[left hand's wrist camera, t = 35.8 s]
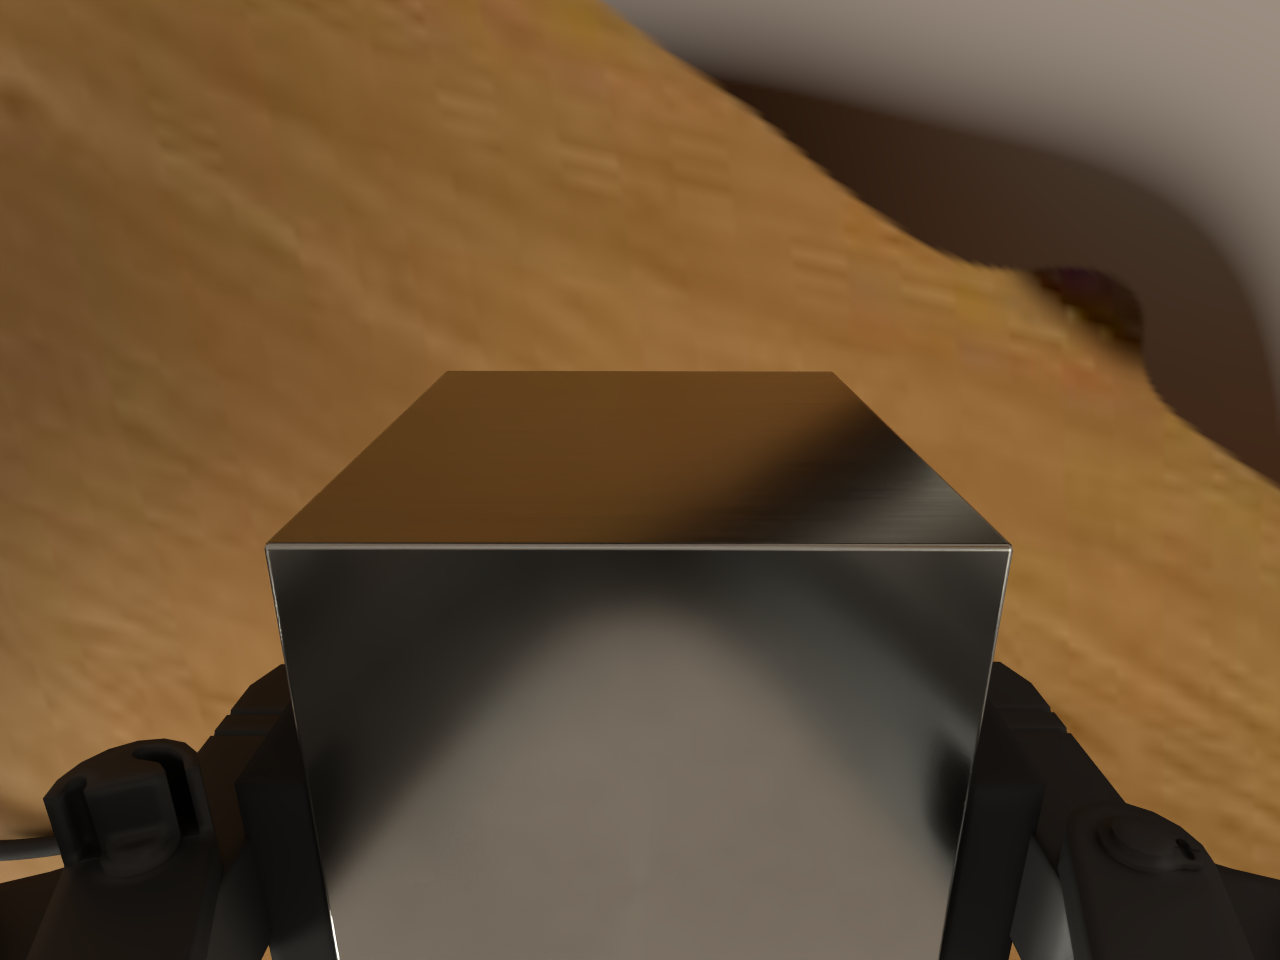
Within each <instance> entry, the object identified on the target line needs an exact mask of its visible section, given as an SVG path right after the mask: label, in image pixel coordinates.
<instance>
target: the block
mask: <svg viewBox="0 0 1280 960" xmlns="http://www.w3.org/2000/svg"><path fill="white" fill-rule="evenodd" d="M1012 552H1013V549H1012V545H1011V544H1010V543H1009V542H1008V541H1007V540H1006V539H1005V538H1004V537H1003V536H1002V535H1001V534H1000V533H999V532H998V531H997V530H996V529H995V528H994V527H992V526H991V525H990V524H989V523H988V522H987V521H986V520H985V519H984V518H983V517H982V516H981V515H980V514H979V513H978V512H977V511H976V510H975V509H974V508H973V507H972V506H971V505H970V504H969V503H968V502H967V501H966V500H965V499H964V498H962V497H961V496H960V495H959V494H958V493H957V492H956V491H955V490H954V489H953V488H952V487H951V486H950V485H949V484H948V483H947V482H946V481H945V480H944V479H943V478H942V477H941V476H940V475H939V474H938V473H937V472H936V471H935V470H933V469H932V468H931V467H930V466H929V465H928V464H927V463H926V462H925V461H924V460H923V459H922V458H921V457H920V456H919V455H918V454H917V453H916V452H915V451H914V450H913V449H912V448H911V447H910V446H909V445H908V444H907V443H906V442H905V441H903V440H902V439H901V438H900V437H899V436H898V435H897V434H896V433H895V432H894V431H893V430H892V429H891V428H890V427H889V426H888V425H887V424H886V423H885V422H884V421H883V420H882V419H881V418H880V417H879V416H878V415H877V414H876V413H875V412H873V411H872V410H871V409H870V408H869V407H868V406H867V405H866V404H865V403H864V402H863V401H862V400H861V399H860V398H859V397H858V396H857V395H856V394H855V393H854V392H853V391H852V390H851V389H850V388H849V387H848V386H847V385H846V384H845V383H843V382H842V381H841V380H840V379H839V378H838V377H837V376H836V375H835V374H834V373H833V372H721V371H447V372H445V373H444V374H443V375H442V376H441V377H440V378H439V379H438V380H437V381H436V382H435V383H434V384H433V385H432V386H431V387H430V388H429V389H428V390H427V391H426V392H424V393H423V394H422V395H421V396H420V397H419V398H418V399H417V400H416V401H415V402H414V403H413V404H412V405H411V406H410V407H409V408H408V409H407V410H406V411H405V412H403V413H402V414H401V415H400V416H399V417H398V418H397V419H396V420H395V421H394V422H393V423H392V424H391V425H390V426H389V427H388V428H387V429H386V430H385V431H384V432H382V433H381V434H380V435H379V436H378V437H377V438H376V439H375V440H374V441H373V442H372V443H371V444H370V445H369V446H368V447H367V448H366V449H365V450H364V451H363V452H361V453H360V454H359V455H358V456H357V457H356V458H355V459H354V460H353V461H352V462H351V463H350V464H349V465H348V466H347V467H346V468H345V469H344V470H343V471H341V472H340V473H339V474H338V475H337V476H336V477H335V478H334V479H333V480H332V481H331V482H330V483H329V484H328V485H327V486H326V487H325V488H324V489H323V490H322V491H320V492H319V493H318V494H317V495H316V496H315V497H314V498H313V499H312V500H311V501H310V502H309V503H308V504H307V505H306V506H305V507H304V508H303V509H302V510H301V511H299V512H298V513H297V514H296V515H295V516H294V517H293V518H292V519H291V520H290V521H289V522H288V523H287V524H286V525H285V526H284V527H283V528H282V529H281V530H280V531H278V532H277V533H276V534H275V535H274V536H273V537H272V538H271V539H270V540H269V541H268V542H267V543H266V545H265V554H266V560H267V565H268V571H269V576H270V582H271V588H272V593H273V599H274V605H275V610H276V616H277V622H278V627H279V633H280V639H281V644H282V650H283V656H284V661H285V667H286V673H287V678H288V684H289V690H290V695H291V701H292V707H293V712H294V718H295V724H296V729H297V735H298V741H299V746H300V752H301V758H302V763H303V769H304V775H305V780H306V786H307V792H308V797H309V803H310V809H311V814H312V820H313V826H314V831H315V837H316V843H317V848H318V854H319V860H320V865H321V871H322V877H323V882H324V888H325V893H326V899H327V905H328V910H329V916H330V922H331V927H332V933H333V939H334V944H335V950H336V956H337V960H939V959H940V953H941V948H942V942H943V937H944V931H945V926H946V920H947V914H948V909H949V903H950V898H951V892H952V886H953V881H954V875H955V870H956V864H957V859H958V853H959V847H960V842H961V836H962V831H963V825H964V820H965V814H966V808H967V803H968V797H969V792H970V786H971V781H972V775H973V769H974V764H975V758H976V753H977V747H978V742H979V736H980V730H981V725H982V719H983V714H984V708H985V703H986V697H987V691H988V686H989V680H990V675H991V669H992V664H993V658H994V652H995V647H996V641H997V636H998V630H999V625H1000V619H1001V613H1002V608H1003V602H1004V597H1005V591H1006V586H1007V580H1008V574H1009V569H1010V563H1011V558H1012Z"/></svg>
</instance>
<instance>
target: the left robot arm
mask: <svg viewBox="0 0 1280 960" xmlns="http://www.w3.org/2000/svg"><path fill="white" fill-rule="evenodd" d="M43 801H44V804H45V807H46V810H47V813H48V816H49V819H50V822H51V825H52V829H53V832H54V835H55V836H48V837H40V838H30V839H17V840H0V861H7V860H20V859H31V858H40V857H48V856H55V855H61V857H62V860H63V863H64V868H61V869H58V870H54V871H51V872H47V873H43V874H39V875H34V876H30V877H26V878H21V879H17V880H13V881H9V882H4V883H0V960H261V959H262V957H263V955H264V953H265V951H266V949H267V947H268V945H269V947H270V952H271V957H272V960H337V956H336V950H335V944H334V939H333V933H332V927H331V922H330V916H329V910H328V905H327V899H326V893H325V888H324V882H323V877H322V871H321V865H320V860H319V854H318V848H317V843H316V837H315V831H314V826H313V820H312V814H311V809H310V803H309V797H308V792H307V786H306V780H305V775H304V769H303V763H302V758H301V752H300V746H299V741H298V735H297V729H296V724H295V718H294V712H293V707H292V701H291V695H290V690H289V684H288V678H287V673H286V667H285V664H281V665H279V666H278V667H276V668H275V669H274V670H272V671H271V672H269V673H268V674H266V675H265V676H263V677H262V678H260V679H259V680H257V681H256V682H254V683H253V684H252V685H250V686H249V688H248V689H247V690H246V691H245V693H244V694H243V695H242V696H241V698H240V699H239V700H238V702H237V703H236V704H235V705H234V707H233V708H232V709H231V714H230V715H227V716H226V717H225V718H224V719H223V721H222V722H221V723H220V725H219V726H218V727H217V728H216V730H215V734H214V736H210V737H209V739H208V740H207V741H206V742H205V744H204V745H203V746H202V748H201V749H200V750H199V751H198V753H197V752H196V751H195V750H193V749H192V748H191V747H190V746H189V745H187V744H186V743H185V742H180V741H174V740H169V739H153V740H141V741H136V742H132V743H129V744H125V745H122V746H118V747H115V748H111V749H108V750H106V751H104V752H102V753H100V754H98V755H96V756H94V757H91V758H89V759H87V760H85V761H83V762H81V763H80V764H78V765H77V766H76V767H74V768H73V769H72V770H70V771H69V772H67V773H66V774H65V775H63V776H62V777H61V778H59V779H58V780H57V781H56V782H55V784H54V785H53V786H52V788H51V789H50V790H49V791H48V793H47V794H46V795H45V797H44V798H43ZM1012 942H1013V944H1014V946H1015V948H1016V950H1017V952H1018V954H1019V956H1020V958H1021V960H1280V880H1278V879H1274V878H1269V877H1265V876H1261V875H1256V874H1252V873H1248V872H1244V871H1239V870H1235V869H1231V868H1228V867H1224V866H1221V865H1218V864H1215V863H1214V862H1213V860H1212V859H1211V857H1210V856H1209V854H1208V853H1207V851H1206V850H1205V848H1204V847H1203V845H1202V844H1200V843H1199V842H1198V841H1197V840H1196V839H1195V838H1193V837H1192V836H1191V835H1190V834H1189V833H1187V832H1186V831H1185V830H1184V829H1183V828H1181V827H1180V826H1178V825H1177V824H1175V823H1173V822H1171V821H1169V820H1167V819H1165V818H1164V817H1162V816H1160V815H1158V814H1156V813H1154V812H1152V811H1149V810H1146V809H1143V808H1139V807H1136V806H1133V805H1130V804H1127V803H1125V802H1124V800H1123V799H1122V798H1121V797H1120V795H1119V794H1118V793H1117V791H1116V790H1115V789H1114V788H1113V786H1112V785H1111V784H1110V783H1109V781H1108V780H1107V779H1106V777H1105V776H1104V775H1103V774H1102V772H1101V771H1100V770H1099V769H1098V767H1097V766H1096V765H1095V764H1094V762H1093V761H1092V760H1091V758H1090V757H1089V756H1088V755H1087V753H1086V752H1085V751H1084V750H1083V748H1082V747H1081V746H1080V744H1079V743H1078V742H1077V741H1076V739H1075V738H1074V737H1073V736H1072V734H1071V733H1067V730H1066V727H1065V725H1064V724H1063V723H1062V722H1061V720H1060V719H1059V718H1058V717H1057V715H1056V714H1055V713H1054V712H1051V710H1050V706H1049V705H1048V704H1047V703H1046V701H1045V700H1044V699H1043V698H1042V696H1041V695H1040V694H1039V692H1038V691H1037V690H1036V689H1035V687H1034V686H1033V685H1032V684H1031V683H1030V682H1029V681H1027V680H1026V679H1024V678H1023V677H1022V676H1020V675H1019V674H1017V673H1016V672H1014V671H1013V670H1011V669H1010V668H1008V667H1007V666H1005V665H1004V664H1002V663H1001V662H993V664H992V669H991V675H990V680H989V686H988V691H987V697H986V703H985V708H984V714H983V719H982V725H981V730H980V736H979V742H978V747H977V753H976V758H975V764H974V769H973V775H972V781H971V786H970V792H969V797H968V803H967V808H966V814H965V820H964V825H963V831H962V836H961V842H960V847H959V853H958V859H957V864H956V870H955V875H954V881H953V886H952V892H951V898H950V903H949V909H948V914H947V920H946V926H945V931H944V937H943V942H942V948H941V953H940V959H939V960H1008V959H1009V955H1010V950H1011V946H1012Z"/></svg>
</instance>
